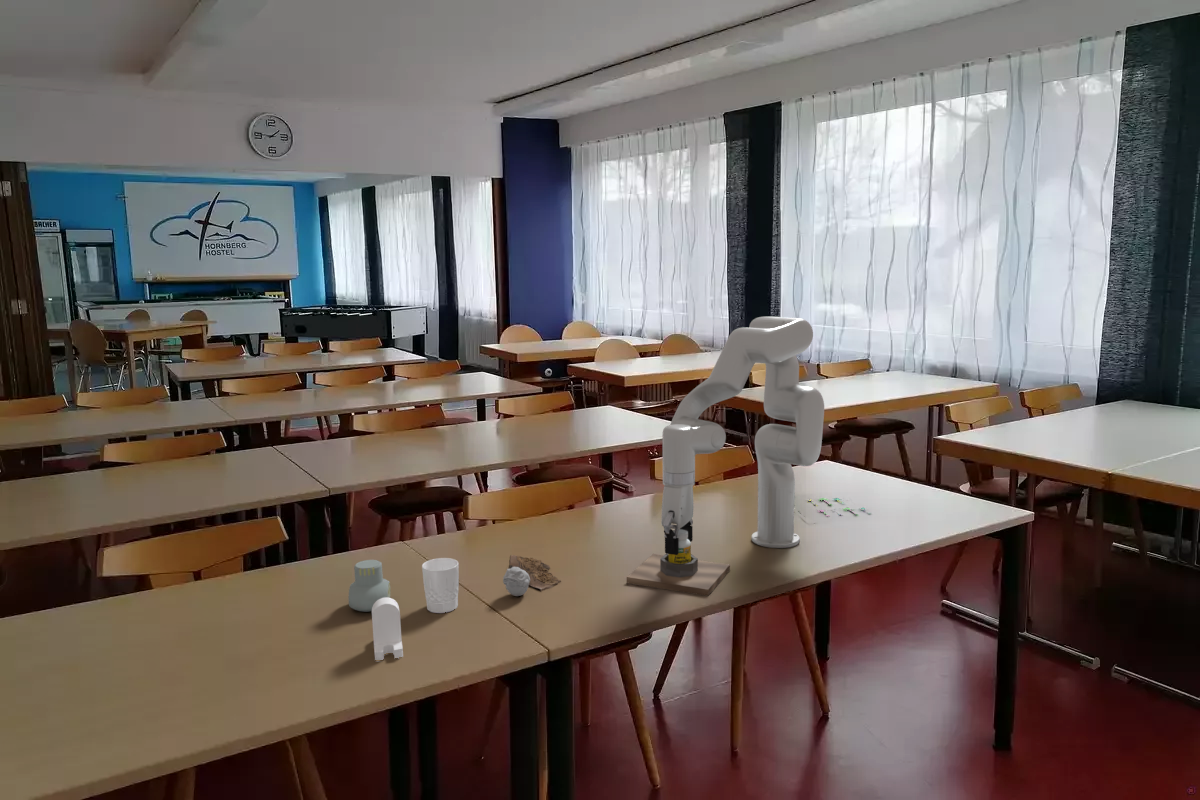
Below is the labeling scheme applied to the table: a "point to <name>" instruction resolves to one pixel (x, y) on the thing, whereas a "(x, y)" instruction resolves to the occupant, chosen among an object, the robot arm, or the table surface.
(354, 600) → the air freshener
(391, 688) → the table surface
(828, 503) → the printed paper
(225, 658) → the table surface
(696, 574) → the holder
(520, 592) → the crumpled paper ball
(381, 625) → the white phone stand
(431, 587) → the white cup
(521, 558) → the wooden fragment
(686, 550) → the supplement bottle
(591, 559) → the table surface
